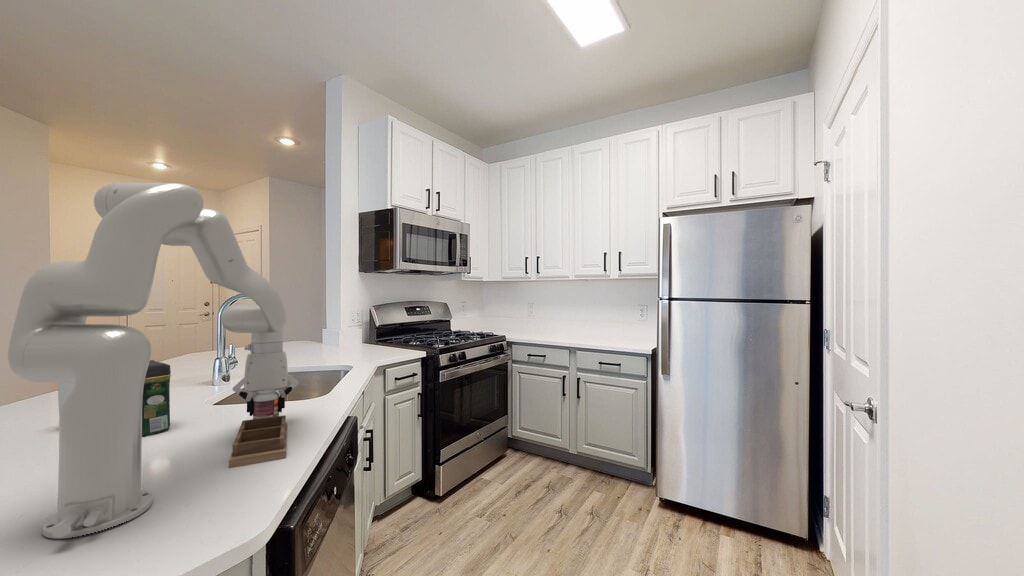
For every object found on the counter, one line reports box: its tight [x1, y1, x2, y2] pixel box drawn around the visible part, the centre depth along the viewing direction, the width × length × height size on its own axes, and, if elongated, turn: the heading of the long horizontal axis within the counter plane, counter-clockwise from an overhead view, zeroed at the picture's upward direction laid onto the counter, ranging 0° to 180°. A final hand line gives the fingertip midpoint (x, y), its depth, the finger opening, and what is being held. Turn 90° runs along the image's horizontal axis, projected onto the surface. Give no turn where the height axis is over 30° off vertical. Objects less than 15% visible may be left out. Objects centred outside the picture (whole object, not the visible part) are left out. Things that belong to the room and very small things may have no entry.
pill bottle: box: [252, 389, 280, 419], centre depth 109 cm, size 6×6×11 cm
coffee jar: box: [142, 359, 172, 436], centre depth 104 cm, size 10×8×19 cm
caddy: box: [228, 415, 288, 469], centre depth 95 cm, size 22×10×4 cm, turn 29°
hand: (266, 412), depth 109 cm, fingers closed on pill bottle, 6 cm apart
